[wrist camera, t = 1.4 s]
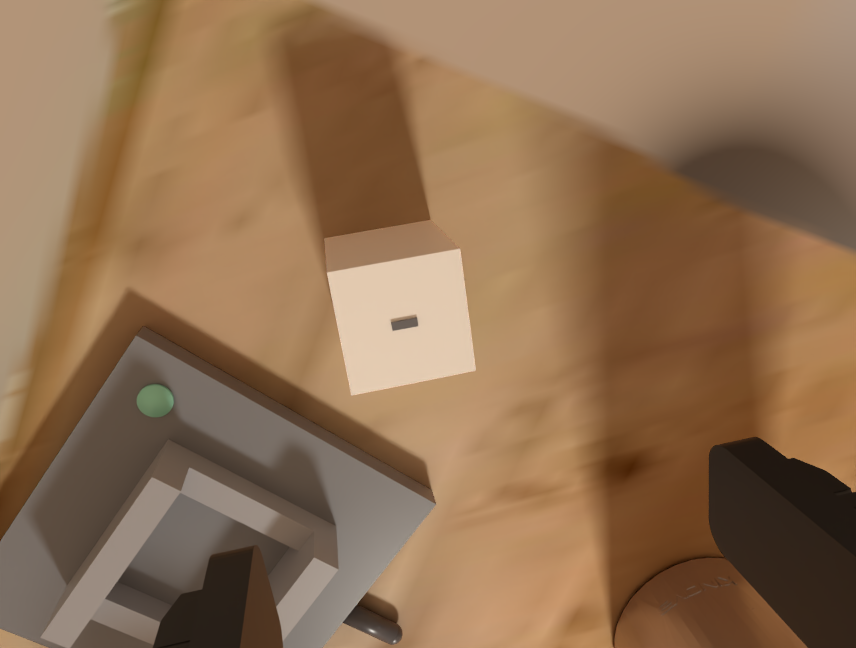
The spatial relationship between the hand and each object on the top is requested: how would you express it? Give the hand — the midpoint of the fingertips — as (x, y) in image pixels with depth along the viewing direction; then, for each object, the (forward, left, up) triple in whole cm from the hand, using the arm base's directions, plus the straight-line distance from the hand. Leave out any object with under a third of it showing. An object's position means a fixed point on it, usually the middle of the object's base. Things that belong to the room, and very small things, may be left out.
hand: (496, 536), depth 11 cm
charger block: (0, 0, -18) cm, 18 cm away
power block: (-10, +11, -18) cm, 23 cm away
